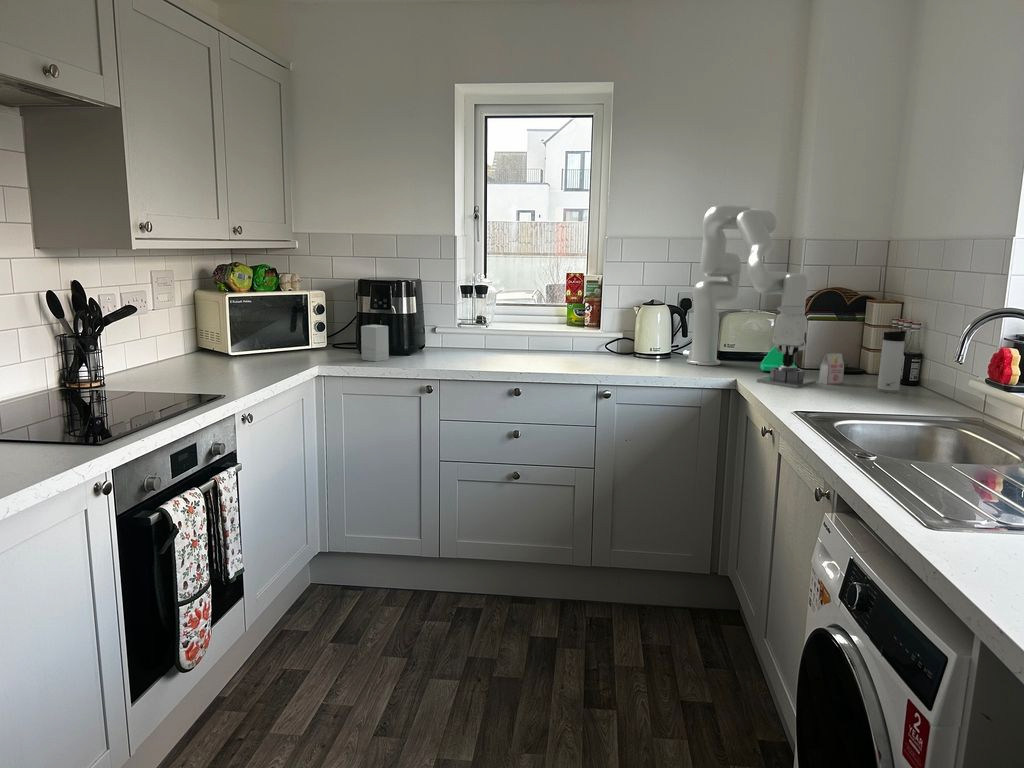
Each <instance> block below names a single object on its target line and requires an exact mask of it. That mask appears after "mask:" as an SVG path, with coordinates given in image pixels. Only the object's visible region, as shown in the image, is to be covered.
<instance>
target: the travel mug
mask: <svg viewBox="0 0 1024 768" xmlns="http://www.w3.org/2000/svg"><path fill="white" fill-rule="evenodd" d="M906 334H907V330H900V331H898V330H897V331H884V332H883V338H882V345H881V351H880V352H881V353H880V362H879V369H878V370H879V373H878V379H877V381H878V382H877V387H876V388H877V389H876V390H877V392H878V391H879V393H881V392H883V393H882V394H888V393H897V394H898V393H899V392H900V385H901V384H900V383H901V376H902V369H903V368H902V366H903V360H904V352H905V351H904V350H905V342H906V340H905V339H906Z"/></svg>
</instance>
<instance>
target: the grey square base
mask: <svg viewBox="0 0 1024 768" xmlns="http://www.w3.org/2000/svg"><path fill="white" fill-rule="evenodd" d="M769 373H770V374H769V376H765V377H760V378H756V382H757V383H760V382H762V384H767V383H768V384H767V385H773V384H774V386H779V385H780V386H781V387H787V388H792V387H793V389H800V388H802V387H803V386H804V387H806V386H810V385H814V384H816V382H817V381H816V380H815V379H808V378H805V377H804V376H805V370H804V369H801V368H798V367H797V371H781V370H778V367H773V368H771V370H770V371H769Z"/></svg>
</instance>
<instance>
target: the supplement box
mask: <svg viewBox="0 0 1024 768" xmlns="http://www.w3.org/2000/svg"><path fill="white" fill-rule="evenodd" d="M360 336H361V337H360V341H361V342H360V343H361V345H360V346H361V347H360V348H361V349H360V350H361V351H360V352H361V360H362V361H369V362H381V361H387V360H389V358H390V356H389V355H390V354H389V353H390V352H389V351H390V350H389V349H390V348H389V345H390V344H389V326H388V325H380V324H366V325H361V326H360Z"/></svg>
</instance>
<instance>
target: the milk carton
mask: <svg viewBox="0 0 1024 768" xmlns="http://www.w3.org/2000/svg"><path fill="white" fill-rule="evenodd" d="M819 367H820V368H819V377H818V383H819V384H822V383H823V384H824V385H826V384H827V385H841V383H842V384H844V382H843V381H844V373H845V371H844V370H845V364H844V360H843V353H826V354H824V357H823V359H822V361H821V363H820V365H819Z"/></svg>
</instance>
